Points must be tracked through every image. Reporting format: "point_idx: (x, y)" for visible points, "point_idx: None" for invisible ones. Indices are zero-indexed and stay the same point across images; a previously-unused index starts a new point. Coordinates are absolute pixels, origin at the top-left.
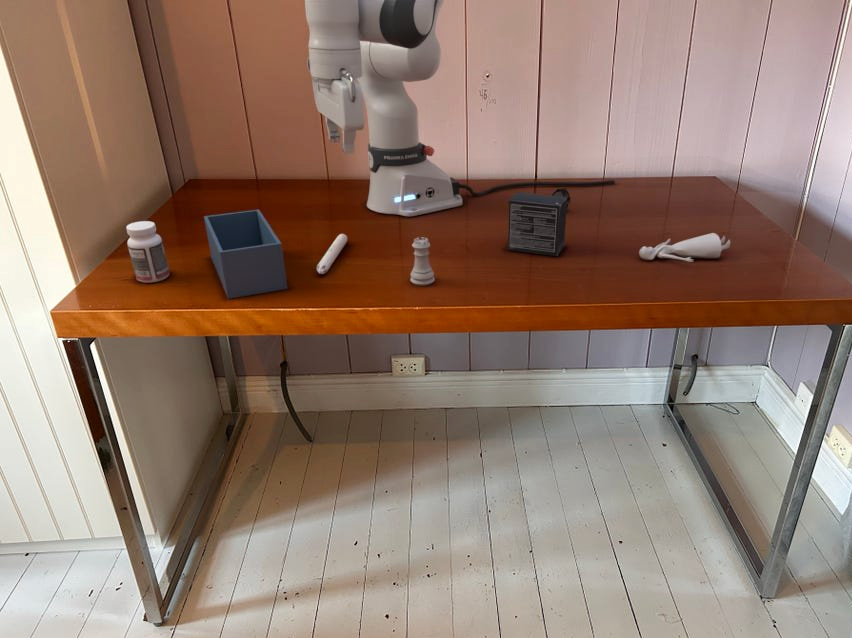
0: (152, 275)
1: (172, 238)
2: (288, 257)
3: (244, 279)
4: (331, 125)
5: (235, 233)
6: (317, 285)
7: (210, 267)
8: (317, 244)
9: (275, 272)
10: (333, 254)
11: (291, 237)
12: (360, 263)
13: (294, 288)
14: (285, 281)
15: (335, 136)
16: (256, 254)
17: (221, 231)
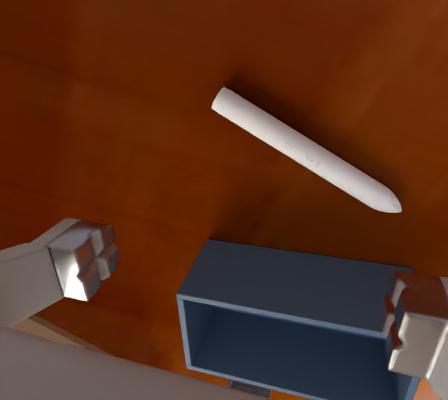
0: (271, 389)
1: (114, 317)
2: (255, 217)
3: None
4: (13, 300)
5: (201, 305)
6: (434, 221)
7: None
8: (207, 148)
9: None
10: (331, 159)
11: (152, 180)
12: (369, 98)
13: (418, 258)
14: None
15: (92, 258)
16: None
17: (200, 327)
